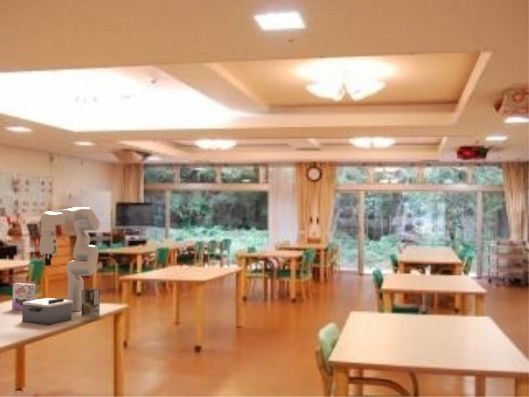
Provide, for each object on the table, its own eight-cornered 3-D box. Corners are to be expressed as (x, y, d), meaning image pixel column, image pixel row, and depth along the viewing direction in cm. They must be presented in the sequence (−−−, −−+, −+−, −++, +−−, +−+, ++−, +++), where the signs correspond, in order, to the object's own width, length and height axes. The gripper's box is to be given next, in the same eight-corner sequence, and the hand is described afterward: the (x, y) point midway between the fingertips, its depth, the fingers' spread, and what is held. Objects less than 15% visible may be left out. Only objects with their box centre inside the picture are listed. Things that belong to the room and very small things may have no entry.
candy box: (11, 309, 387) (12, 283, 387) (18, 308, 393) (19, 282, 393) (28, 311, 382) (29, 284, 382) (35, 309, 387) (35, 283, 388)
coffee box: (100, 315, 370) (100, 289, 370) (93, 317, 364) (94, 290, 364) (87, 314, 373) (87, 288, 373) (80, 316, 367) (81, 289, 367)
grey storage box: (48, 316, 364) (48, 299, 364) (74, 319, 356) (74, 302, 356) (19, 322, 344) (19, 305, 345) (45, 326, 336) (46, 308, 336)
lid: (47, 299, 363) (47, 295, 363) (73, 302, 354) (73, 297, 354) (22, 304, 346) (22, 299, 346) (49, 307, 337) (49, 302, 337)
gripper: (62, 234, 357) (62, 265, 357) (42, 233, 363) (42, 264, 363) (53, 235, 350) (53, 266, 350) (33, 234, 356) (33, 265, 356)
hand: (48, 265), depth 357 cm, fingers closed
